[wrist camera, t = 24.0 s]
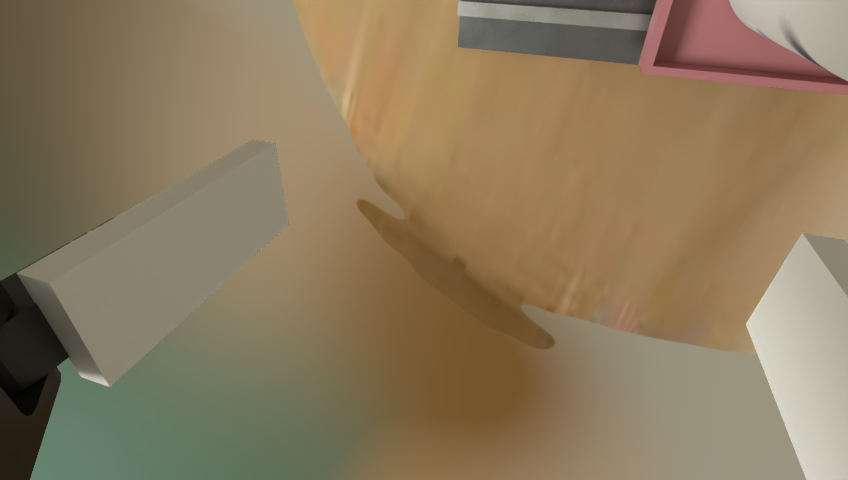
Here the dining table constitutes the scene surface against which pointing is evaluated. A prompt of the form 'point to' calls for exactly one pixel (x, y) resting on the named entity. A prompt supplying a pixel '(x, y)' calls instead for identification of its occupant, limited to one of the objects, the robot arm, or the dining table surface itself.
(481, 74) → the dining table surface
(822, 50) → the container
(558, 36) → the track
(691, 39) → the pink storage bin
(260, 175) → the robot arm
